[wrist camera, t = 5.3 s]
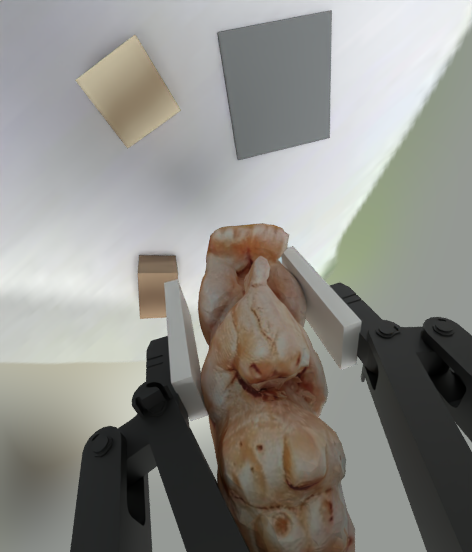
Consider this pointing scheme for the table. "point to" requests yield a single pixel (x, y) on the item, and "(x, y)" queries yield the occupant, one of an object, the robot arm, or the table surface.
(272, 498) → the figurine
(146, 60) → the beech block
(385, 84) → the table surface
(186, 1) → the table surface
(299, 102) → the grey mat
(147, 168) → the table surface
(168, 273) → the walnut block
